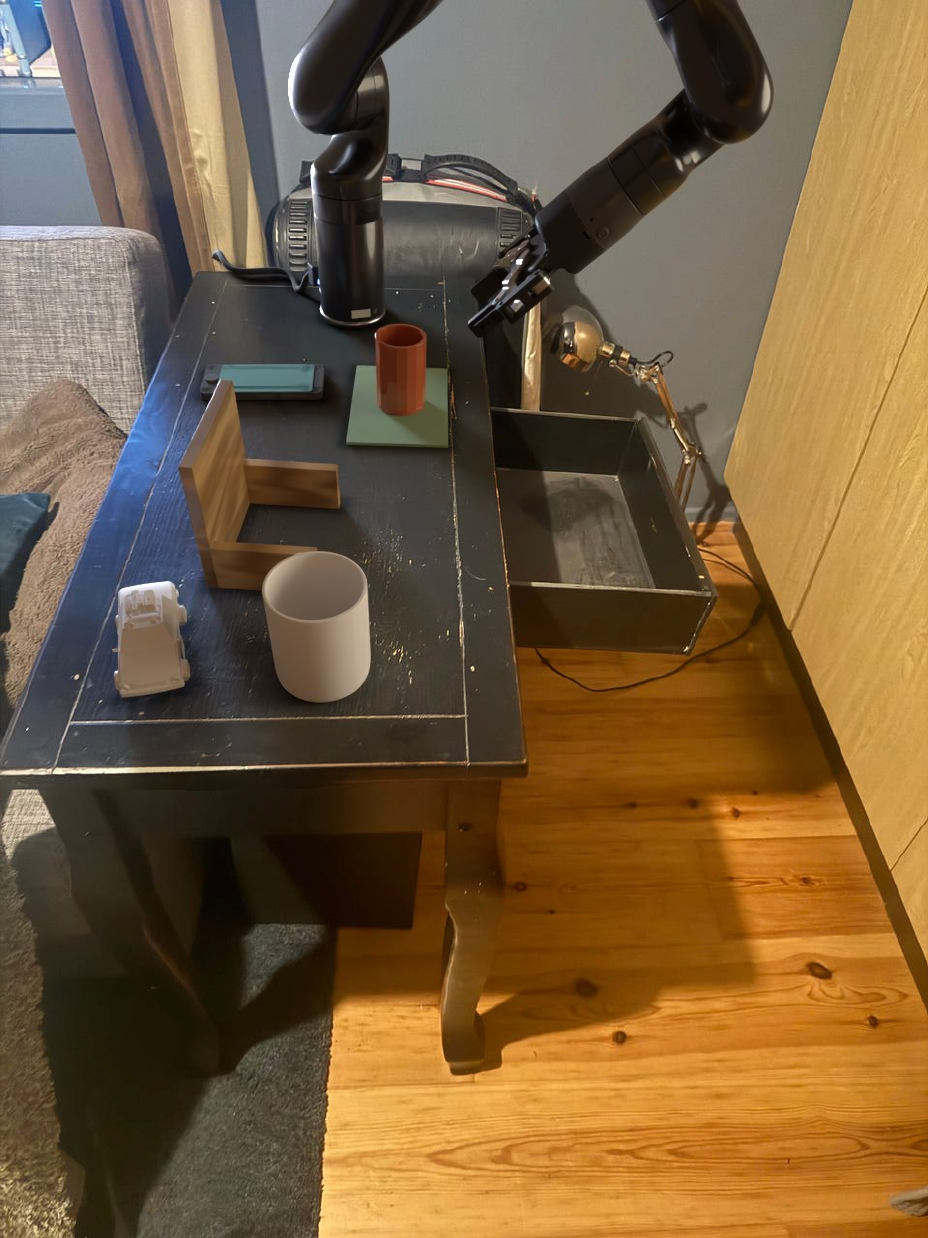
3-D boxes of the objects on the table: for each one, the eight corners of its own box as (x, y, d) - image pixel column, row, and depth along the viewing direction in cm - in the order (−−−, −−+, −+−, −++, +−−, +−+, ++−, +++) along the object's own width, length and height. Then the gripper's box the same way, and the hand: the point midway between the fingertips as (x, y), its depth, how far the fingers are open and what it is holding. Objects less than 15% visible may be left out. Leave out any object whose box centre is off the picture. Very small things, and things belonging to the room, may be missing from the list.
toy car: (120, 714, 68) (98, 660, 63) (120, 613, 76) (101, 558, 71) (194, 700, 69) (178, 647, 64) (187, 603, 77) (172, 549, 72)
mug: (260, 618, 76) (244, 533, 69) (346, 600, 79) (340, 515, 71) (287, 716, 69) (273, 632, 61) (382, 692, 71) (379, 609, 63)
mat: (357, 367, 109) (357, 364, 109) (447, 371, 110) (447, 368, 109) (346, 444, 97) (346, 441, 96) (447, 448, 97) (448, 445, 97)
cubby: (340, 502, 89) (332, 386, 79) (319, 594, 79) (306, 475, 69) (241, 495, 89) (220, 379, 79) (207, 587, 79) (178, 466, 69)
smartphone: (206, 362, 106) (323, 362, 107) (208, 371, 107) (324, 370, 108) (198, 392, 101) (321, 392, 102) (200, 401, 101) (322, 400, 103)
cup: (369, 396, 103) (367, 328, 97) (412, 386, 106) (413, 320, 99) (388, 420, 100) (387, 351, 93) (433, 409, 102) (434, 342, 96)
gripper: (565, 164, 89) (454, 262, 97) (572, 213, 79) (448, 318, 87) (604, 219, 93) (495, 309, 101) (616, 272, 83) (494, 367, 91)
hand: (474, 313), depth 94 cm, fingers open, 8 cm apart
